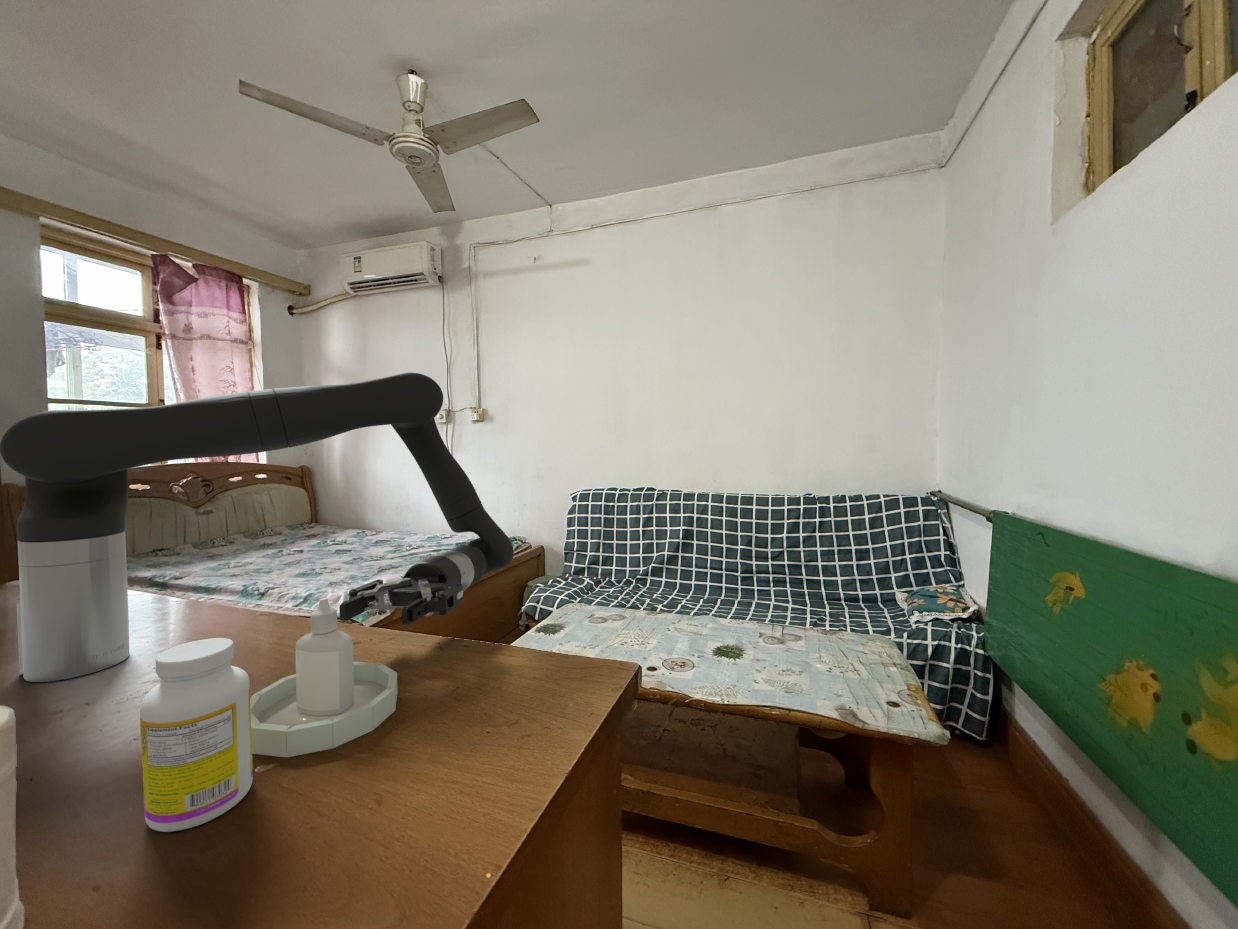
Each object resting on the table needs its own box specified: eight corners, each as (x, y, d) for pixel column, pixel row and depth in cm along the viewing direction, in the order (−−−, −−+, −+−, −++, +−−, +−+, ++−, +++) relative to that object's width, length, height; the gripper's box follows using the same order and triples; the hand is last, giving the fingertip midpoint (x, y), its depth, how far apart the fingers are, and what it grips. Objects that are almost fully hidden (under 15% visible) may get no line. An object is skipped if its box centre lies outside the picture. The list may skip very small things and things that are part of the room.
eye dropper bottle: (314, 726, 49) (312, 610, 48) (292, 708, 52) (289, 599, 51) (359, 707, 52) (357, 598, 52) (335, 691, 55) (333, 589, 55)
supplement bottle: (191, 777, 42) (186, 633, 41) (271, 773, 42) (267, 631, 42) (117, 840, 35) (111, 669, 35) (213, 834, 36) (208, 666, 35)
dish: (205, 748, 46) (204, 722, 46) (317, 678, 60) (316, 658, 60) (336, 763, 44) (336, 736, 44) (421, 687, 58) (420, 666, 58)
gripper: (398, 553, 76) (320, 582, 60) (483, 556, 74) (425, 588, 58) (399, 599, 77) (322, 641, 61) (483, 604, 74) (426, 648, 58)
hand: (373, 615), depth 59 cm, fingers open, 8 cm apart
